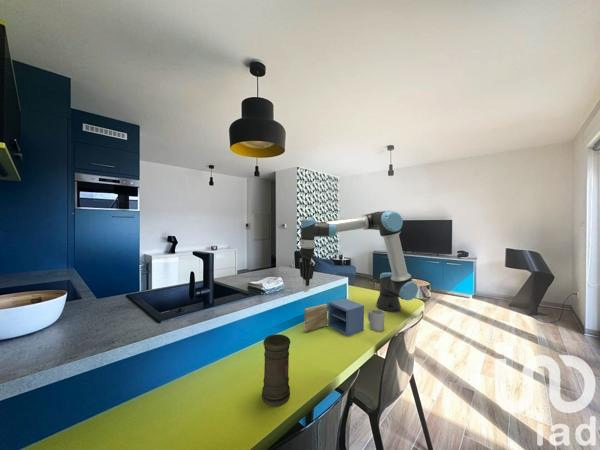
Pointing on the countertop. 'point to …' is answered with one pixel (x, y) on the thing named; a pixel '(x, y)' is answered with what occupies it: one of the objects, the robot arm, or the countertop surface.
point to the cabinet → (346, 316)
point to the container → (276, 370)
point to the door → (315, 317)
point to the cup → (376, 320)
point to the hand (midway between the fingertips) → (305, 291)
